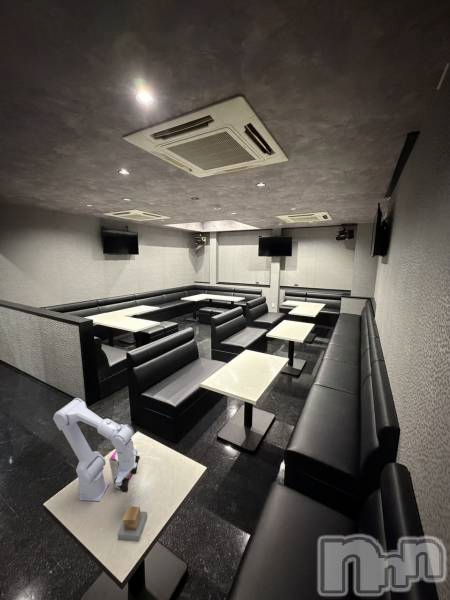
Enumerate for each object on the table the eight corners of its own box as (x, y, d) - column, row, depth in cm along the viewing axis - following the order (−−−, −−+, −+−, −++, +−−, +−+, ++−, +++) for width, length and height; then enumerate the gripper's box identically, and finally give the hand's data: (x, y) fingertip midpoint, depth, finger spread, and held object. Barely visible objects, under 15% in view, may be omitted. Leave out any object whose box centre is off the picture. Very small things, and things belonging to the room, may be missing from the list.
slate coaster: (118, 540, 88) (117, 534, 87) (128, 516, 96) (127, 510, 95) (139, 541, 87) (138, 535, 87) (147, 517, 95) (146, 511, 94)
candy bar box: (127, 466, 117) (124, 438, 113) (137, 467, 116) (133, 440, 112) (113, 488, 106) (108, 458, 102) (123, 490, 105) (118, 460, 101)
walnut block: (124, 529, 89) (122, 519, 87) (129, 516, 93) (128, 506, 92) (136, 529, 88) (134, 520, 87) (141, 516, 93) (139, 506, 91)
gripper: (126, 473, 88) (130, 501, 91) (142, 441, 102) (145, 466, 105) (108, 472, 88) (113, 500, 91) (127, 440, 102) (130, 465, 105)
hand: (129, 482), depth 98 cm, fingers open, 7 cm apart
